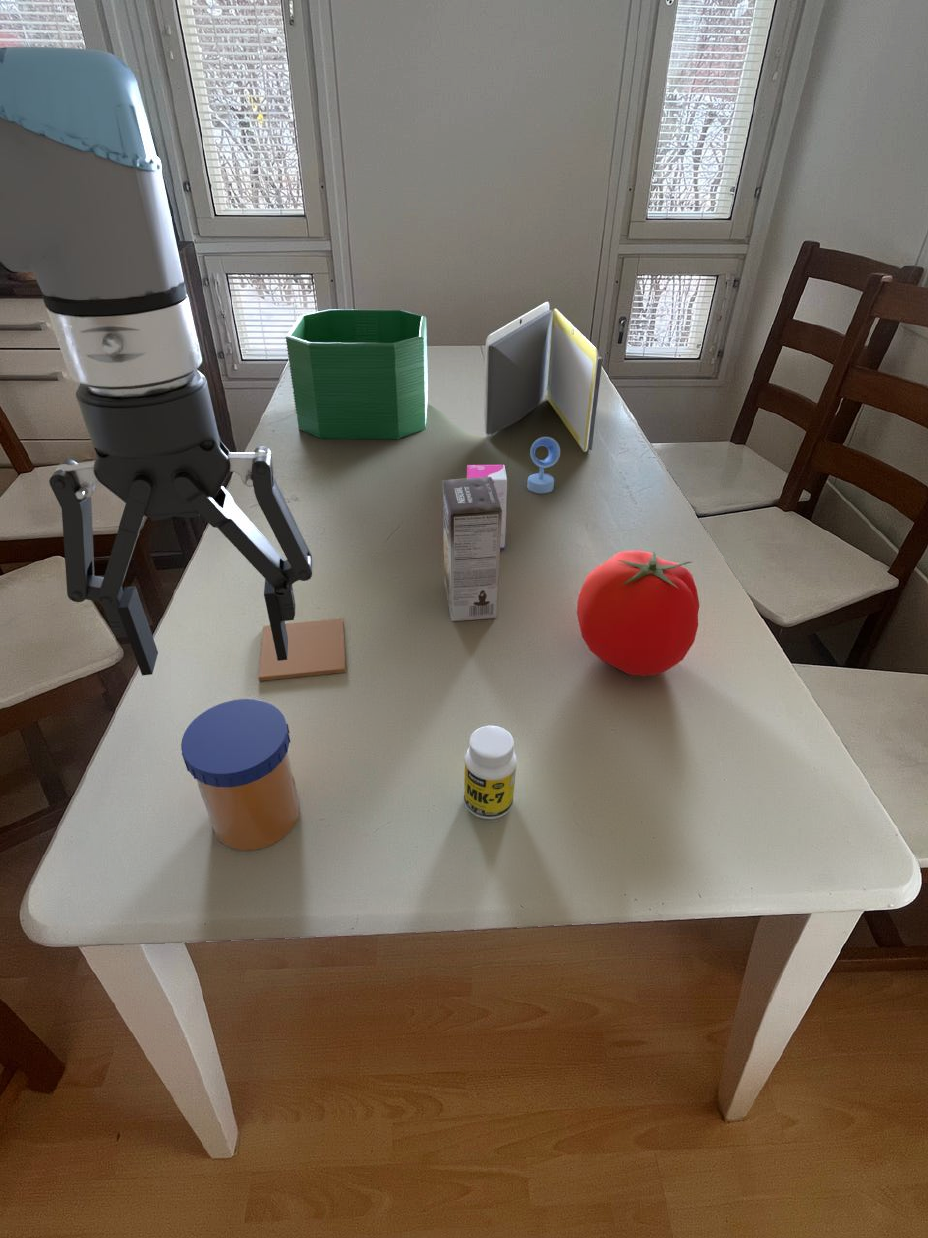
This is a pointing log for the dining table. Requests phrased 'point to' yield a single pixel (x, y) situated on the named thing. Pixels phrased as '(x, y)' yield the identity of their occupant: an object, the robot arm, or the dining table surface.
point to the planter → (359, 373)
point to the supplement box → (500, 485)
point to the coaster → (305, 650)
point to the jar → (254, 809)
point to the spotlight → (543, 466)
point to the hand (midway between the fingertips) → (217, 656)
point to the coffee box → (471, 547)
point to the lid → (235, 743)
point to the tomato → (639, 612)
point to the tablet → (541, 373)
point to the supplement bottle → (490, 772)
